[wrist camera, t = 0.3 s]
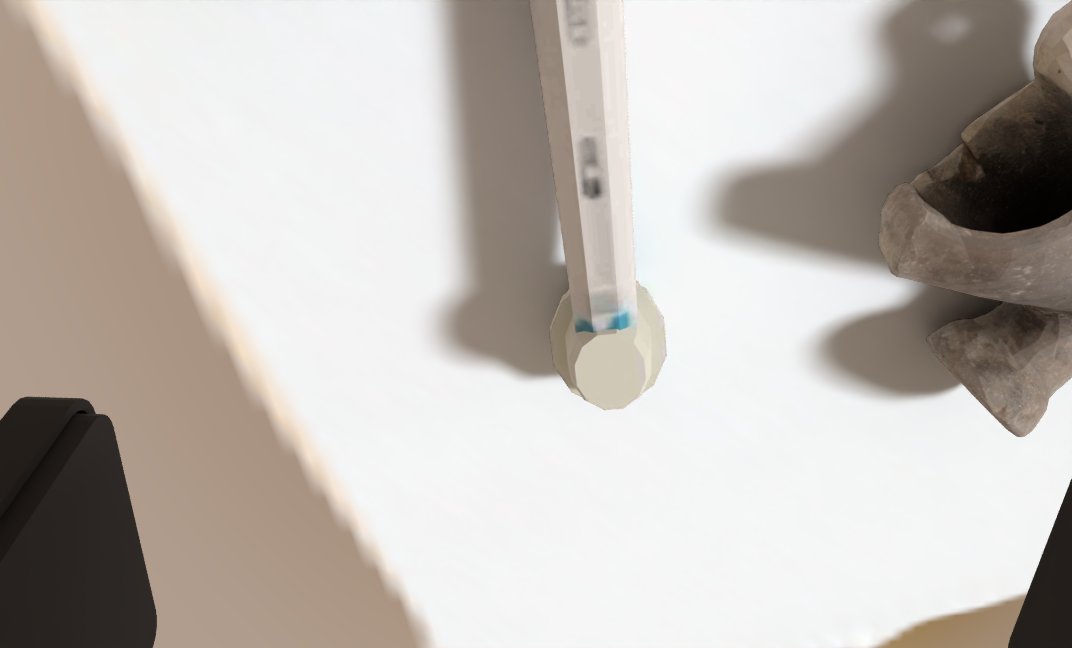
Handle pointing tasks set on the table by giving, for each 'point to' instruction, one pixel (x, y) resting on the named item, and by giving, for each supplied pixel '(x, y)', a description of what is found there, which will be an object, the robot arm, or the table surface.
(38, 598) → the robot arm
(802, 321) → the table surface
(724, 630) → the table surface
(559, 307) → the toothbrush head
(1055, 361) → the grey clay vessel
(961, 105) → the table surface
